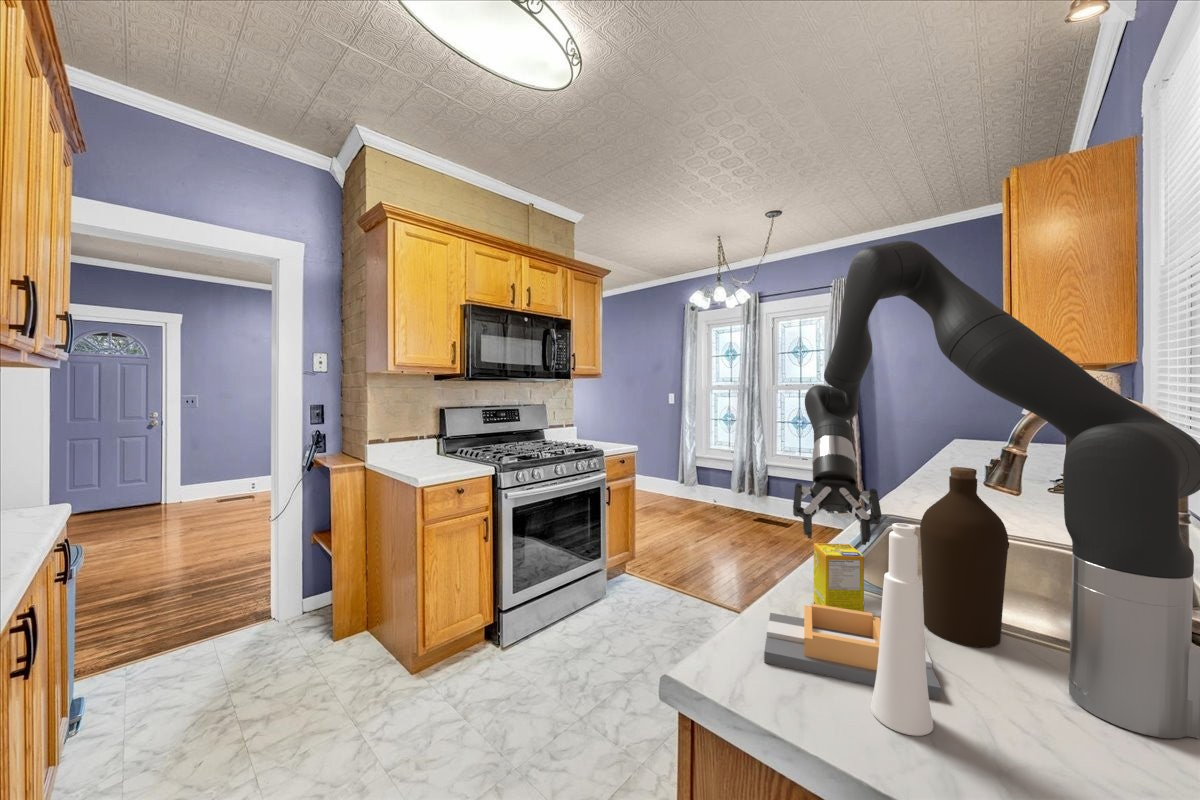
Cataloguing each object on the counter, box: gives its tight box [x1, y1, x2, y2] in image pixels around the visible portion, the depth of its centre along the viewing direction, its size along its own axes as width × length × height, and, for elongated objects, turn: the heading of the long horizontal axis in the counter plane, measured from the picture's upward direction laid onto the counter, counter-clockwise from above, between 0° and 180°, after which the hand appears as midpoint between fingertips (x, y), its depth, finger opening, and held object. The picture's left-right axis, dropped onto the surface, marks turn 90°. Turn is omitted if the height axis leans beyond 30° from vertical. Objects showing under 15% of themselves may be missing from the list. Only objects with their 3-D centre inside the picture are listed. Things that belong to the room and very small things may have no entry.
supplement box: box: [813, 542, 865, 612], centre depth 78 cm, size 6×6×11 cm
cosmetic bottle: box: [870, 522, 934, 737], centre depth 54 cm, size 6×6×22 cm
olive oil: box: [919, 466, 1010, 649], centre depth 72 cm, size 11×11×25 cm
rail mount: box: [763, 603, 942, 701], centre depth 66 cm, size 20×12×4 cm, turn 67°
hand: (836, 539), depth 83 cm, fingers open, 8 cm apart
